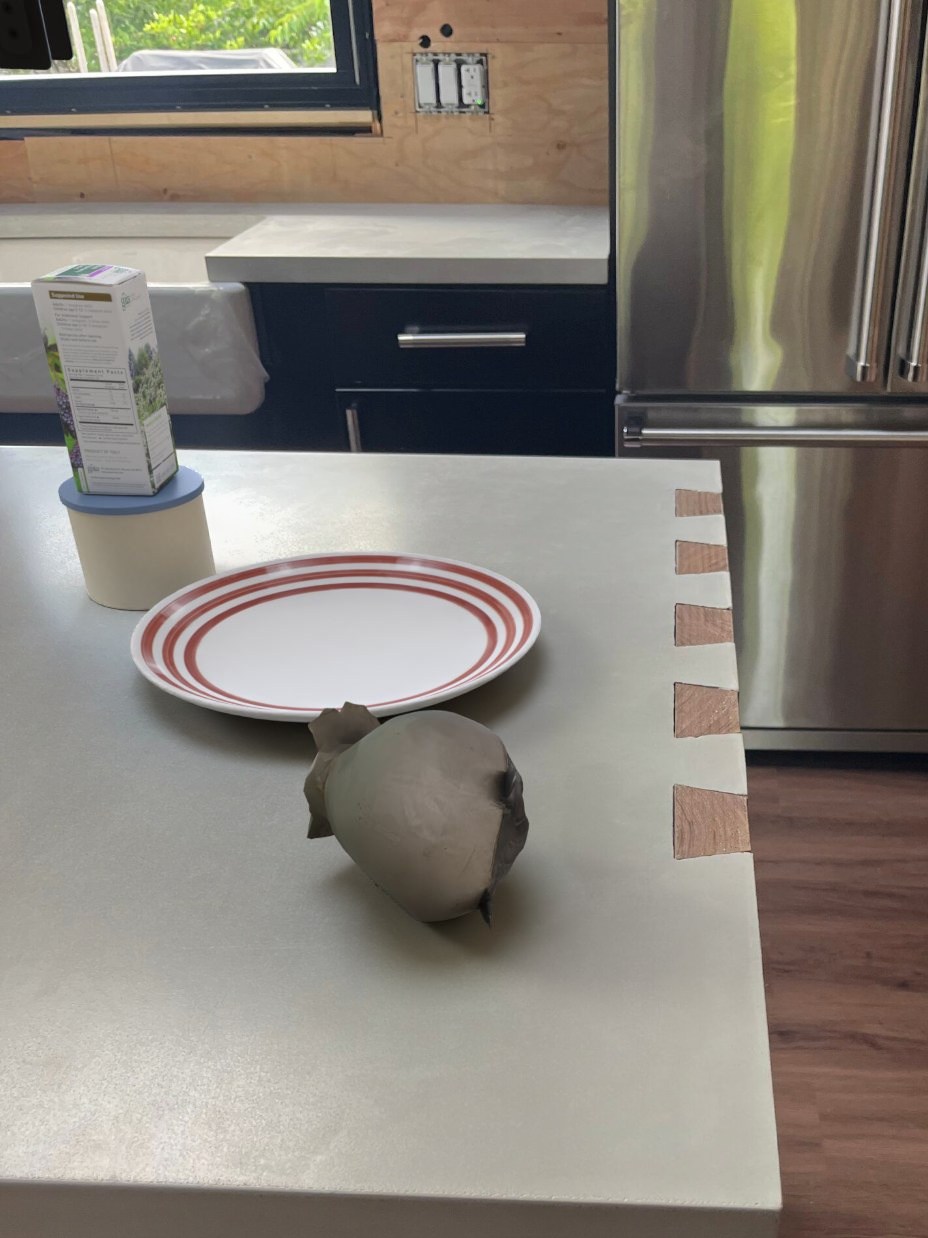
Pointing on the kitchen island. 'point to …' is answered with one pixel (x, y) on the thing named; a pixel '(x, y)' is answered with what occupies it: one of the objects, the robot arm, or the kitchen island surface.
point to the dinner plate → (335, 634)
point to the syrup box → (107, 378)
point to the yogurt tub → (141, 541)
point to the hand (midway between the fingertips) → (36, 63)
